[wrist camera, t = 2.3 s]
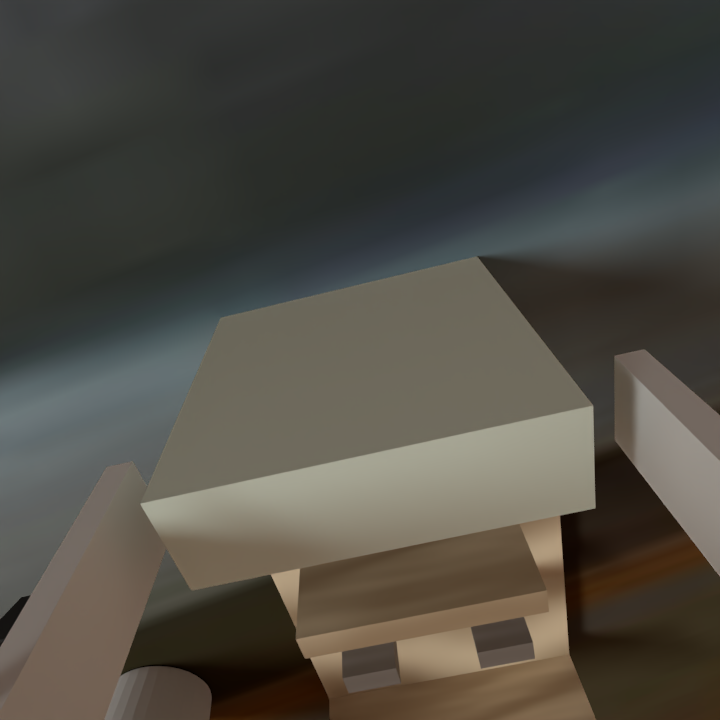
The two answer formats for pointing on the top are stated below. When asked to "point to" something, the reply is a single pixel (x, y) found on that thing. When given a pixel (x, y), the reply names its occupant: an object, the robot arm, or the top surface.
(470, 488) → the beige rectangular block
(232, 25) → the top surface
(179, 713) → the coffee cup
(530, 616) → the wooden shelf with pegs
